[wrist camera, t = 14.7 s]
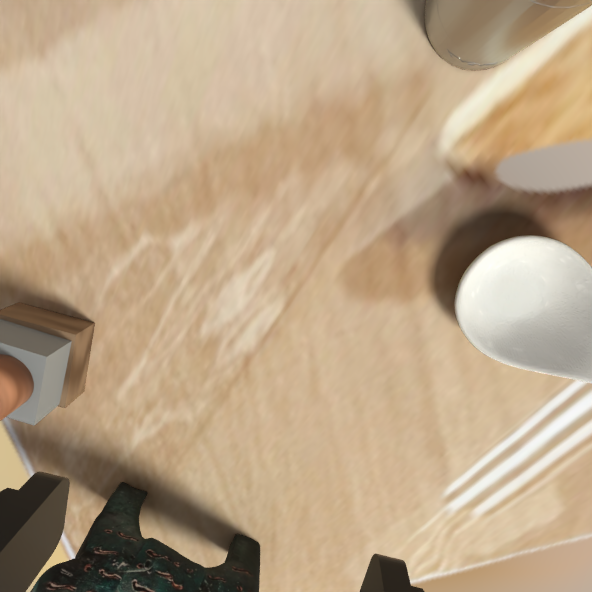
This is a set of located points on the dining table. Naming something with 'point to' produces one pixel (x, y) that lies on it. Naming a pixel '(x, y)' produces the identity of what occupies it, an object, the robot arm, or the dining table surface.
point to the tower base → (63, 328)
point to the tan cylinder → (13, 384)
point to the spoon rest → (530, 306)
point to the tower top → (37, 367)
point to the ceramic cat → (145, 559)
